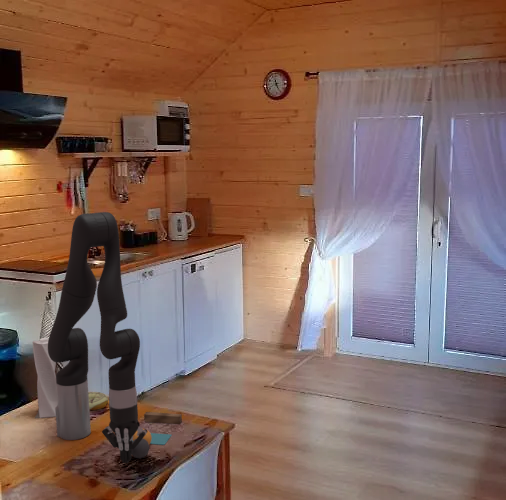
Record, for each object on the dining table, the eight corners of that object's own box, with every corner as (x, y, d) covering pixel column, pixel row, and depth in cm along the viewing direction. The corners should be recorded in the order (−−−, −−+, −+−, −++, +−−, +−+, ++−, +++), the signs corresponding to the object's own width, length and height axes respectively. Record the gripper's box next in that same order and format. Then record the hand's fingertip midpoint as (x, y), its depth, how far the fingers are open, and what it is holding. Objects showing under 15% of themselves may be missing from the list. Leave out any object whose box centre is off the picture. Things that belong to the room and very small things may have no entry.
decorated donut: (90, 414, 213) (90, 404, 212) (69, 408, 219) (68, 397, 218) (114, 404, 221) (113, 394, 221) (93, 398, 227) (92, 387, 227)
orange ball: (129, 448, 185) (130, 429, 186) (136, 445, 190) (137, 427, 191) (146, 450, 184) (148, 430, 185) (153, 447, 189) (154, 428, 190)
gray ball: (137, 431, 183) (138, 445, 186) (125, 443, 179) (126, 457, 182) (152, 438, 181) (153, 452, 183) (140, 450, 177) (141, 465, 179)
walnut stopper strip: (144, 421, 206) (144, 414, 205) (146, 419, 208) (146, 411, 207) (179, 424, 203) (179, 416, 203) (181, 421, 205) (181, 414, 205)
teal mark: (126, 442, 191) (126, 441, 191) (134, 432, 198) (134, 431, 198) (164, 445, 189) (164, 444, 189) (171, 435, 195) (171, 434, 195)
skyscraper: (64, 409, 218) (58, 329, 214) (60, 418, 210) (54, 336, 206) (38, 411, 217) (32, 331, 213) (34, 420, 209) (27, 338, 205)
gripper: (94, 405, 171) (98, 466, 174) (140, 408, 169) (144, 470, 171) (106, 395, 178) (109, 453, 181) (151, 398, 176) (153, 457, 178)
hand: (126, 461), depth 176 cm, fingers closed
